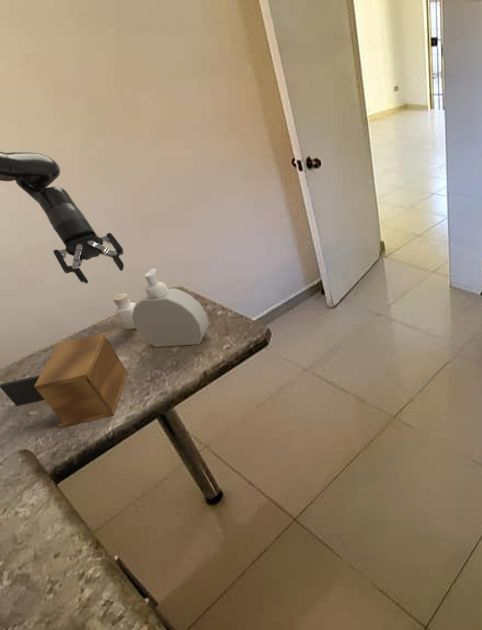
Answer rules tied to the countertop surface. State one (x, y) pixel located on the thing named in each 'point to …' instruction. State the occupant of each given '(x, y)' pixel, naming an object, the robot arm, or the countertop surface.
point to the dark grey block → (22, 391)
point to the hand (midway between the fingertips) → (104, 275)
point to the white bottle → (125, 310)
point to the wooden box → (82, 380)
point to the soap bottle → (169, 315)
